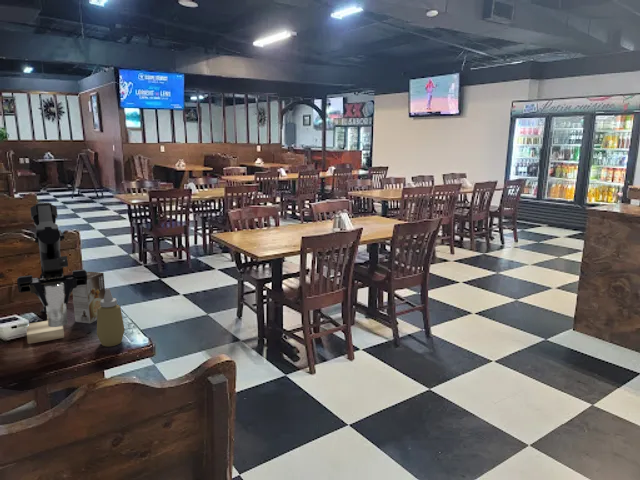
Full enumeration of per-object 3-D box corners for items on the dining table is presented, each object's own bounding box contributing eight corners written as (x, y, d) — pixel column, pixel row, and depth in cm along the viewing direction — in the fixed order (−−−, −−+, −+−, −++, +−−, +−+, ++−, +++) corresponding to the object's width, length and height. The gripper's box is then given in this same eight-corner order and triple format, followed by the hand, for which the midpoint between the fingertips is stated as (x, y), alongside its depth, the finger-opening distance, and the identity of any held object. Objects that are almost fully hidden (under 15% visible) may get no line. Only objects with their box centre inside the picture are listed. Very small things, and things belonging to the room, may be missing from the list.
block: (28, 332, 152) (27, 323, 152) (62, 326, 157) (62, 318, 157) (27, 343, 144) (26, 334, 143) (64, 337, 149) (63, 328, 148)
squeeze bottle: (98, 350, 141) (93, 294, 137) (97, 340, 148) (92, 286, 144) (126, 345, 144) (122, 291, 140) (124, 336, 151) (120, 283, 147)
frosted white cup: (56, 319, 146) (52, 281, 143) (71, 321, 145) (68, 283, 142) (43, 326, 141) (39, 287, 138) (59, 327, 140) (55, 288, 137)
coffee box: (92, 312, 170) (88, 270, 167) (107, 314, 169) (104, 272, 166) (74, 322, 161) (70, 278, 158) (90, 323, 160) (86, 279, 157)
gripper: (13, 251, 136) (17, 297, 130) (84, 244, 146) (90, 288, 139) (17, 269, 145) (20, 314, 138) (83, 262, 154) (89, 304, 147)
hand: (56, 304), depth 140 cm, fingers closed on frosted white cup, 5 cm apart
